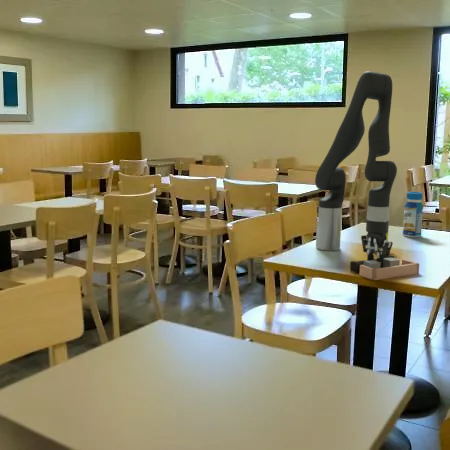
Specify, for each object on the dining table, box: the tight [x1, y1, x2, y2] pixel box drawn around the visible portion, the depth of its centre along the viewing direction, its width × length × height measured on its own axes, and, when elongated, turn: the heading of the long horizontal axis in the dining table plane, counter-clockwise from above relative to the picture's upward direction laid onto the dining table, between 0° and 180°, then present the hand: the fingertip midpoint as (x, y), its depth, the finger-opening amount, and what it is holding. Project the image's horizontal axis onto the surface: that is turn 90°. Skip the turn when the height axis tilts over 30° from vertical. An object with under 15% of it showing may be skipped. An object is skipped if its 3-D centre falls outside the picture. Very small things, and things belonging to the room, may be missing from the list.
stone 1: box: [363, 260, 381, 269], centre depth 196 cm, size 4×4×4 cm
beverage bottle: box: [402, 191, 424, 238], centre depth 261 cm, size 8×8×20 cm
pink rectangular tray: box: [359, 258, 420, 281], centre depth 194 cm, size 7×20×4 cm, turn 117°
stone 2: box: [382, 257, 401, 268], centre depth 200 cm, size 4×4×4 cm
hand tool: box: [349, 254, 396, 273], centre depth 201 cm, size 19×4×5 cm, turn 113°
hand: (374, 266), depth 201 cm, fingers open, 4 cm apart
